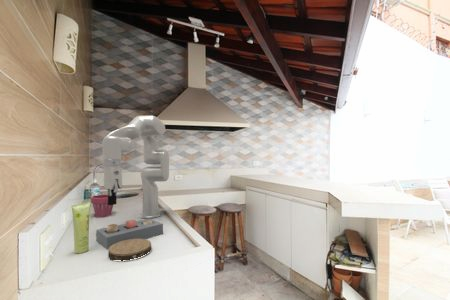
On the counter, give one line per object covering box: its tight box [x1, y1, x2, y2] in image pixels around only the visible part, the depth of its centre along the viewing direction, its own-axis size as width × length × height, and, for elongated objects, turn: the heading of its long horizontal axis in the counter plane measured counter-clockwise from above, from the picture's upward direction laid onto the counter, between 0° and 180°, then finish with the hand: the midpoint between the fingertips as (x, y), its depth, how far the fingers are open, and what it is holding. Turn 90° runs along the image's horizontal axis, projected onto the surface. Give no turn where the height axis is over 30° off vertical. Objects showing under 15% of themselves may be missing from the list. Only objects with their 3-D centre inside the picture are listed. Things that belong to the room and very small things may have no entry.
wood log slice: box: [107, 239, 152, 261], centre depth 93 cm, size 16×16×3 cm
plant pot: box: [90, 193, 114, 218], centre depth 152 cm, size 14×14×13 cm
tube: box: [71, 201, 91, 254], centre depth 95 cm, size 6×5×20 cm
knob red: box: [125, 219, 137, 229], centre depth 111 cm, size 4×4×4 cm
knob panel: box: [95, 218, 164, 250], centre depth 111 cm, size 26×14×5 cm, turn 135°
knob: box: [106, 223, 119, 234], centre depth 105 cm, size 4×4×4 cm
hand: (112, 204), depth 105 cm, fingers closed
